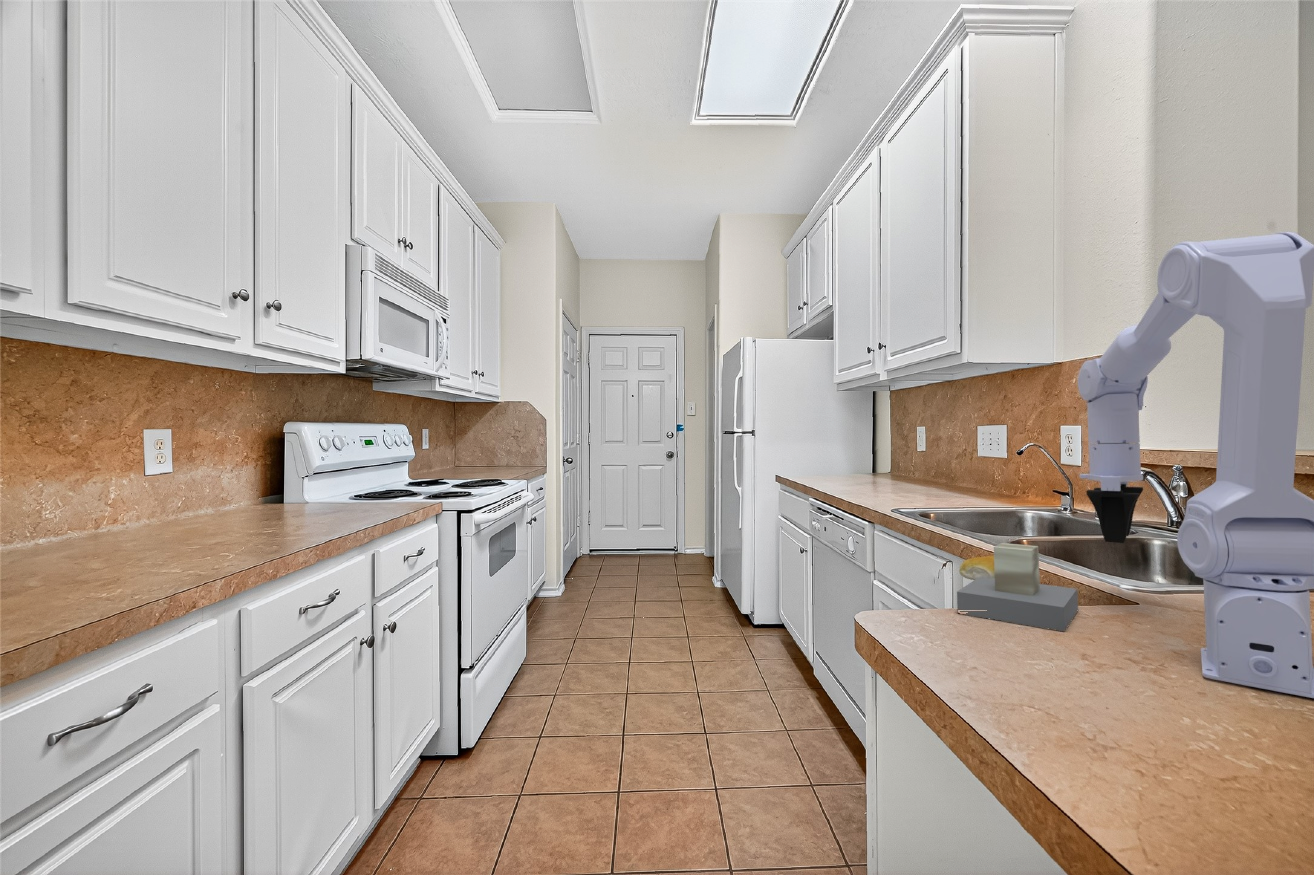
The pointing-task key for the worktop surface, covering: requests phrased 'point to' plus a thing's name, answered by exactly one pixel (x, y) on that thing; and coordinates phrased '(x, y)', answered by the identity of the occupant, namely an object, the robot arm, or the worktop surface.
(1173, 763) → the worktop surface
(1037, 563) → the sage block
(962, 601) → the slate plinth
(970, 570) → the bread roll
